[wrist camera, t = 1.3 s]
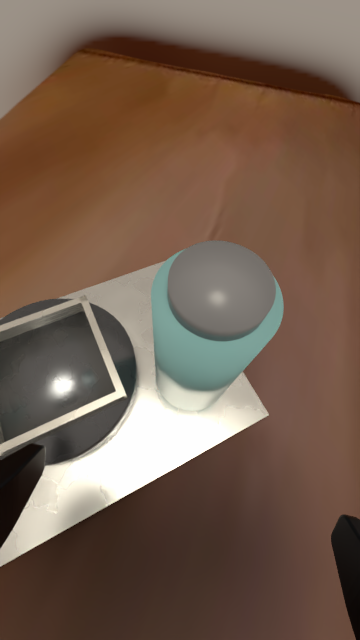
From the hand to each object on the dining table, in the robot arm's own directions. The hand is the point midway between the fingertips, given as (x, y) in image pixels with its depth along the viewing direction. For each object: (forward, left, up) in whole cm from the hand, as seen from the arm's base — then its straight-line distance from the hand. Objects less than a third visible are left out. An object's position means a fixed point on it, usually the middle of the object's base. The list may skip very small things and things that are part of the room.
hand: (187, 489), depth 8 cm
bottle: (+6, -5, -12) cm, 14 cm away
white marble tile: (+9, +2, -13) cm, 16 cm away
